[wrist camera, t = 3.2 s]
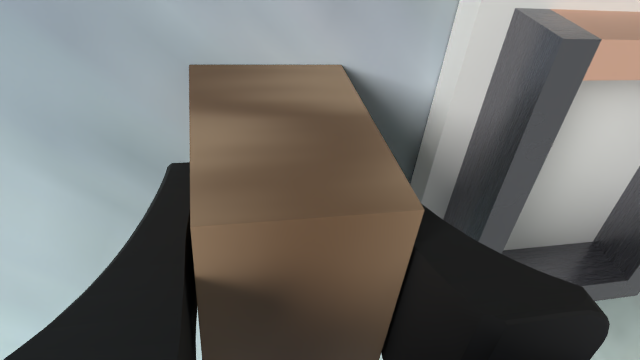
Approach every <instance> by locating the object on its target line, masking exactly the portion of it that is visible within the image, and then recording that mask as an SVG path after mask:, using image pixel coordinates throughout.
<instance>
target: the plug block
mask: <svg viewBox="0 0 640 360" xmlns="http://www.w3.org/2000/svg"><path fill="white" fill-rule="evenodd" d="M189 110H190V229H191V240H192V251H193V262H194V273H195V284H196V295H197V306H198V317H199V328H200V339H201V350H202V360H379V358H380V355H381V351H382V348H383V345H384V341H385V338H386V335H387V332H388V328H389V325H390V322H391V318H392V315H393V312H394V309H395V305H396V302H397V299H398V295H399V292H400V289H401V286H402V282H403V279H404V276H405V272H406V269H407V266H408V263H409V259H410V256H411V253H412V249H413V246H414V243H415V240H416V236H417V233H418V230H419V226H420V223H421V220H422V217H423V213H424V208H423V206H422V205H421V203H420V201H419V199H418V198H417V196H416V194H415V192H414V191H413V189H412V187H411V186H410V184H409V182H408V180H407V179H406V177H405V175H404V173H403V172H402V170H401V168H400V166H399V165H398V163H397V161H396V159H395V158H394V156H393V154H392V152H391V151H390V149H389V147H388V145H387V144H386V142H385V140H384V139H383V137H382V135H381V133H380V132H379V130H378V128H377V126H376V125H375V123H374V121H373V119H372V118H371V116H370V114H369V112H368V111H367V109H366V107H365V105H364V104H363V102H362V100H361V98H360V97H359V95H358V93H357V92H356V90H355V88H354V86H353V85H352V83H351V81H350V79H349V78H348V76H347V74H346V72H345V71H344V69H343V67H342V65H189Z"/></svg>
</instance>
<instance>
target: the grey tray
mask: <svg viewBox="0 0 640 360" xmlns="http://www.w3.org/2000/svg"><path fill="white" fill-rule="evenodd" d="M410 186H411V187H412V189H413V191H414V192H415V194H416V196H417V198H418V199H419V201H420V203H421V204H423V205H424V206H425V207H427V208H428V209H429V210H431V211H432V212H433V213H435V214H436V215H437V216H439V217H440V218H441V219H443V220H444V221H446V222H447V223H449V224H450V225H452V226H453V227H455V228H457V229H458V230H460V231H461V232H463V233H465V234H466V235H468V236H469V237H471V238H473V239H475V240H476V241H478V242H480V243H482V244H484V245H485V246H487V247H489V248H491V249H493V250H495V251H497V252H499V253H501V254H503V255H505V256H507V257H509V258H511V259H513V260H515V261H517V262H520V263H522V264H524V265H527V266H529V267H531V268H533V269H536V270H538V271H541V272H543V273H546V274H548V275H551V276H554V277H557V278H559V279H562V280H565V281H568V282H570V283H573V284H576V285H579V286H581V287H583V288H584V289H585V290H586V291H587V293H588V294H589V295H590V296H591V298H592V299H593V300H594V301H597V300H605V299H613V298H620V297H628V296H635V295H638V293H639V292H640V0H460V1H459V5H458V9H457V13H456V16H455V20H454V24H453V27H452V31H451V35H450V39H449V42H448V46H447V50H446V54H445V57H444V61H443V65H442V68H441V72H440V76H439V80H438V83H437V87H436V91H435V94H434V98H433V102H432V106H431V109H430V113H429V117H428V120H427V124H426V128H425V132H424V135H423V139H422V143H421V146H420V150H419V154H418V158H417V161H416V165H415V169H414V172H413V176H412V180H411V184H410Z"/></svg>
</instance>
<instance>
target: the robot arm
mask: <svg viewBox="0 0 640 360" xmlns="http://www.w3.org/2000/svg"><path fill="white" fill-rule="evenodd" d="M421 205H422V206H423V208H424V213H423V217H422V220H421V223H420V226H419V230H418V233H417V236H416V240H415V243H414V246H413V249H412V253H411V256H410V259H409V263H408V266H407V269H406V272H405V276H404V279H403V282H402V286H401V289H400V292H399V295H398V299H397V302H396V305H395V309H394V312H393V315H392V318H391V322H390V325H389V328H388V332H387V335H386V338H385V341H384V345H383V348H382V351H381V353H382V357H383V360H590V359H591V358H592V356H593V355H594V354H595V352H596V351H597V350H598V349H599V347H600V346H601V345H602V343H603V342H604V340H605V338H606V337H607V334H608V329H609V325H610V324H609V321H608V318H607V316H606V315H605V314H604V313H603V311H602V310H601V309H600V308H599V306H598V305H597V304H596V303H595V301H594V300H593V299H592V298H591V296H590V295H589V294H588V293H587V291H586V290H585V289H584V288H583V287H581V286H579V285H576V284H573V283H570V282H568V281H565V280H562V279H559V278H557V277H554V276H551V275H548V274H546V273H543V272H541V271H538V270H536V269H533V268H531V267H529V266H527V265H524V264H522V263H520V262H517V261H515V260H513V259H511V258H509V257H507V256H505V255H503V254H501V253H499V252H497V251H495V250H493V249H491V248H489V247H487V246H485V245H484V244H482V243H480V242H478V241H476V240H475V239H473V238H471V237H469V236H468V235H466V234H465V233H463V232H461V231H460V230H458V229H457V228H455V227H453V226H452V225H450V224H449V223H447V222H446V221H444V220H443V219H441V218H440V217H439V216H437V215H436V214H435V213H433V212H432V211H431V210H429V209H428V208H427V207H425V206H424V205H423V204H421ZM196 318H197V295H196V284H195V273H194V262H193V251H192V240H191V229H190V162H189V163H171V164H170V165H169V166H168V167H167V170H166V174H165V176H164V179H163V181H162V183H161V186H160V188H159V190H158V192H157V194H156V196H155V198H154V199H153V201H152V203H151V205H150V207H149V208H148V210H147V212H146V214H145V215H144V217H143V219H142V220H141V222H140V223H139V225H138V226H137V228H136V229H135V231H134V232H133V234H132V235H131V237H130V238H129V240H128V241H127V243H126V244H125V245H124V247H123V248H122V249H121V251H120V252H119V253H118V255H117V256H116V257H115V258H114V259H113V261H112V262H111V263H110V264H109V266H108V267H107V268H106V269H105V270H104V271H103V272H102V273H101V275H100V276H99V277H98V278H97V279H96V280H95V281H94V282H93V283H92V284H91V286H90V287H89V288H88V289H87V290H86V291H85V292H84V293H83V294H82V295H81V296H80V297H79V298H78V299H76V300H75V301H74V302H73V303H72V304H71V305H70V306H69V307H68V308H67V309H66V310H64V311H63V312H62V313H61V314H60V315H59V316H58V317H57V318H56V319H55V320H54V321H52V322H51V323H50V324H49V325H48V326H47V327H45V328H44V329H43V330H42V331H40V332H39V333H38V334H36V335H35V336H34V337H33V338H31V339H30V340H29V341H27V342H26V343H25V344H24V345H22V346H21V347H20V348H18V349H17V350H16V351H14V352H13V353H12V354H10V355H9V356H7V357H6V358H5V359H4V360H196Z"/></svg>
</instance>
